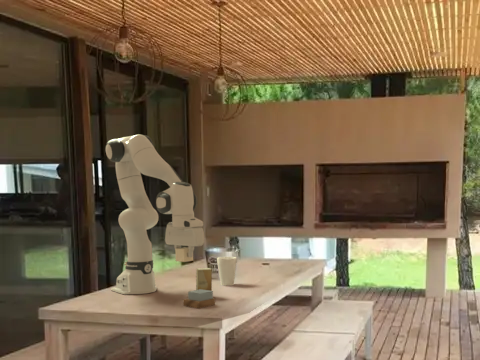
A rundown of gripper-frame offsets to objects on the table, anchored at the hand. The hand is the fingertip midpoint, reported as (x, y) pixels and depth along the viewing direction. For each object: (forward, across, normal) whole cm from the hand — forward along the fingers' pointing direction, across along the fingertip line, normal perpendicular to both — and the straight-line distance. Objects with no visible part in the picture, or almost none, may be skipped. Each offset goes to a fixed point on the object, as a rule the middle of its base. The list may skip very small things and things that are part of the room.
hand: (184, 256), depth 225 cm
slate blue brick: (+17, +3, +5) cm, 18 cm away
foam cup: (+20, -22, +45) cm, 54 cm away
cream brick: (+2, 0, 0) cm, 2 cm away
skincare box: (+20, -8, +18) cm, 28 cm away
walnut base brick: (+20, +3, +4) cm, 21 cm away
